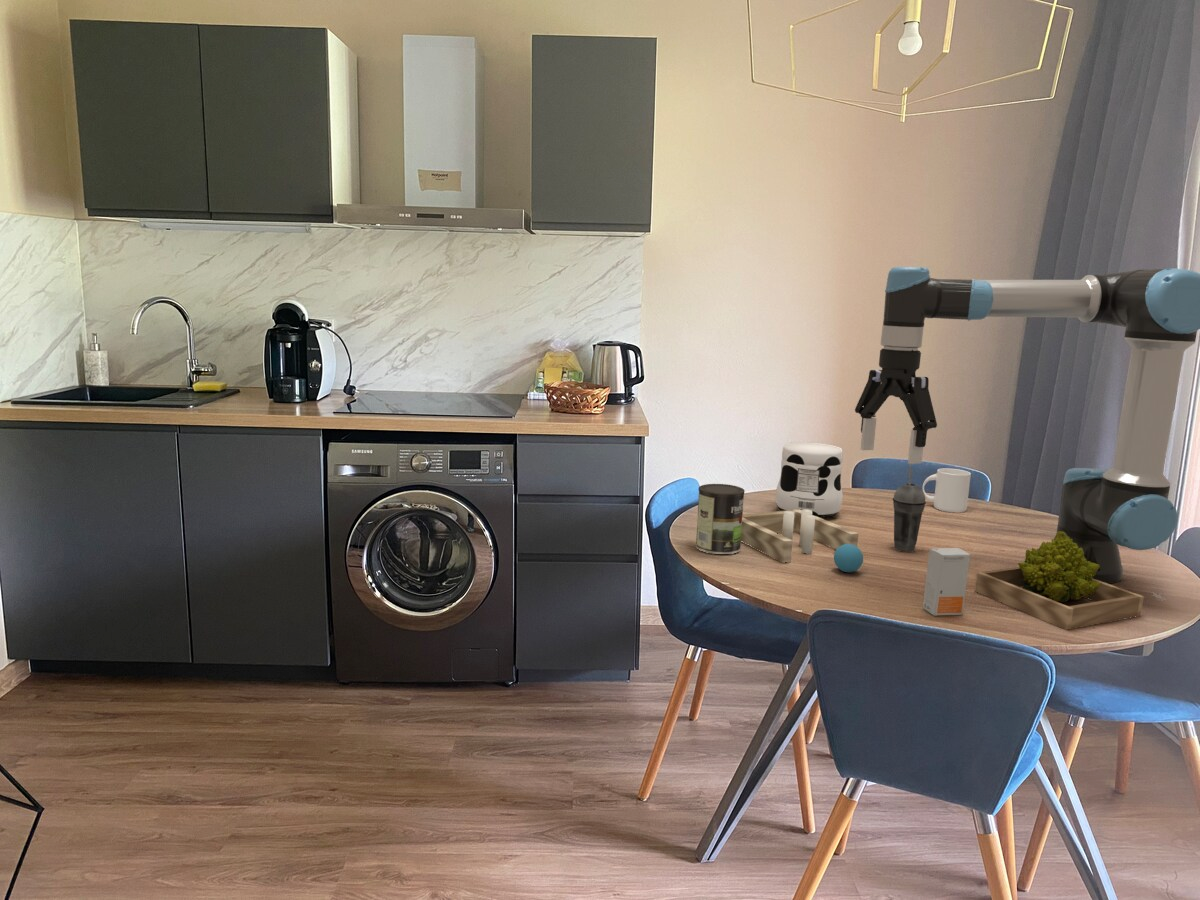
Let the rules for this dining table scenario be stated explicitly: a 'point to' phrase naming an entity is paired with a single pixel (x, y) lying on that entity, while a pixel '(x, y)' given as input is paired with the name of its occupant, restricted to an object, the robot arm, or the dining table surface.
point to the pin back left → (788, 524)
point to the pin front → (808, 534)
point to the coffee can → (719, 518)
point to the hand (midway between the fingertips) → (889, 456)
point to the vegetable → (1059, 570)
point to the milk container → (810, 478)
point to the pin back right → (804, 512)
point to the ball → (848, 558)
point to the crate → (1106, 608)
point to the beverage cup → (907, 515)
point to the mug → (950, 489)
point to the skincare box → (946, 581)
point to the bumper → (766, 525)
